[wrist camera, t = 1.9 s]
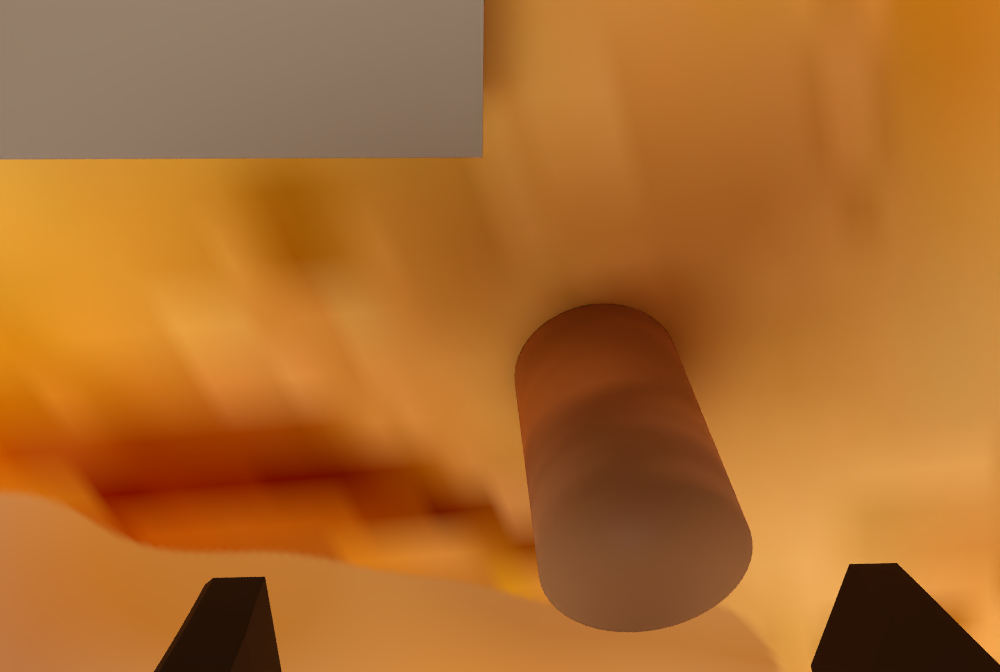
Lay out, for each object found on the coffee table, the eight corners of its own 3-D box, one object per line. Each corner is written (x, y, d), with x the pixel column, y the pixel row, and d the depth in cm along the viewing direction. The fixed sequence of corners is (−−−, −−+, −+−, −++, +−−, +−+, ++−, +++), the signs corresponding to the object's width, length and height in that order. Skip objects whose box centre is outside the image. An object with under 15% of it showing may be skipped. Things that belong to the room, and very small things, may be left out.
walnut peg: (688, 302, 20) (771, 481, 15) (666, 434, 22) (732, 627, 17) (517, 305, 20) (543, 487, 15) (512, 438, 22) (533, 636, 17)
